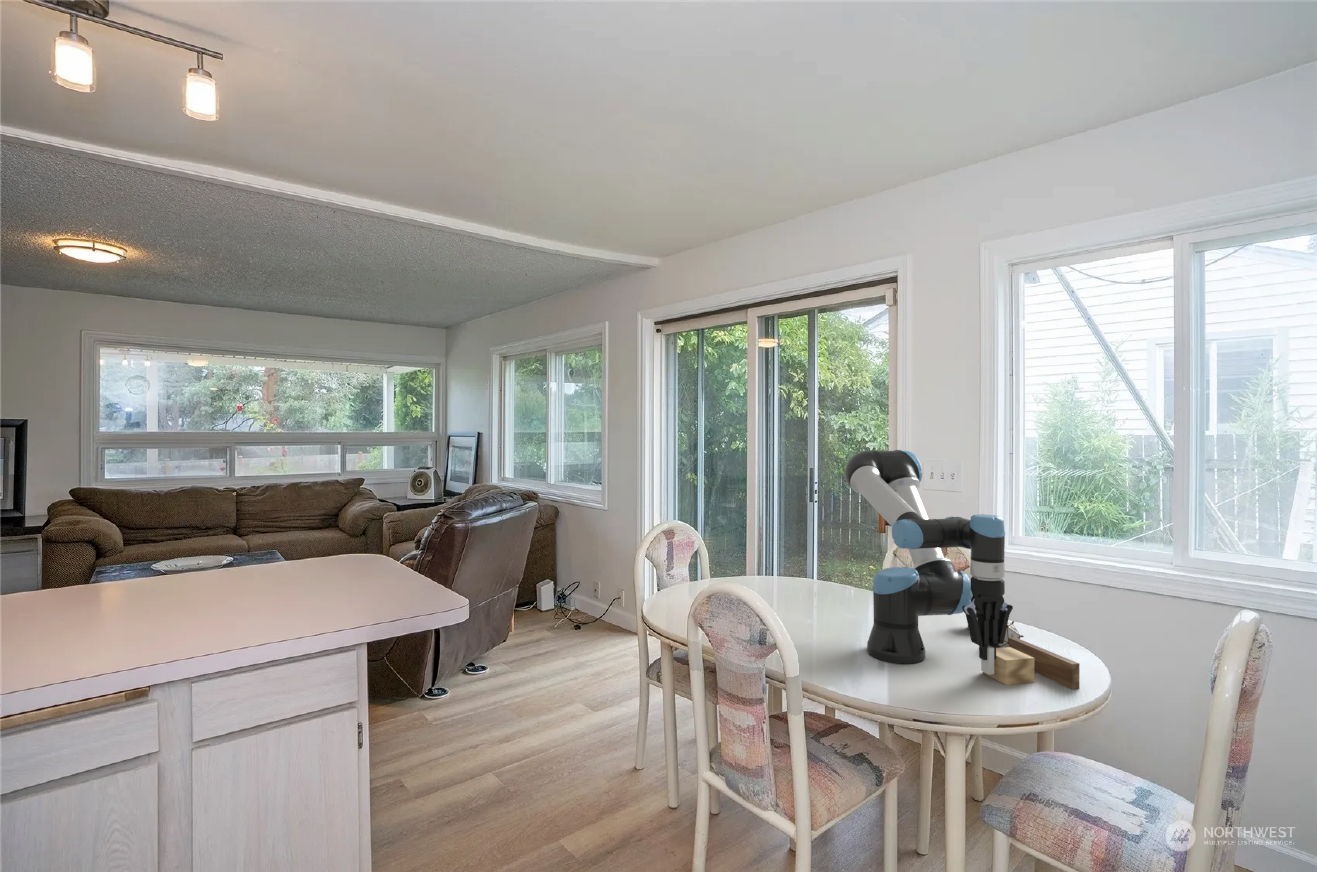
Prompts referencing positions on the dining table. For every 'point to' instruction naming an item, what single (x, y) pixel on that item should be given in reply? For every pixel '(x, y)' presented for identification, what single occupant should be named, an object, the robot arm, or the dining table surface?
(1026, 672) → the block
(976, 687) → the dining table surface
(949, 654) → the dining table surface
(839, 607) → the dining table surface
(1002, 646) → the game die
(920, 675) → the dining table surface
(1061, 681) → the board
